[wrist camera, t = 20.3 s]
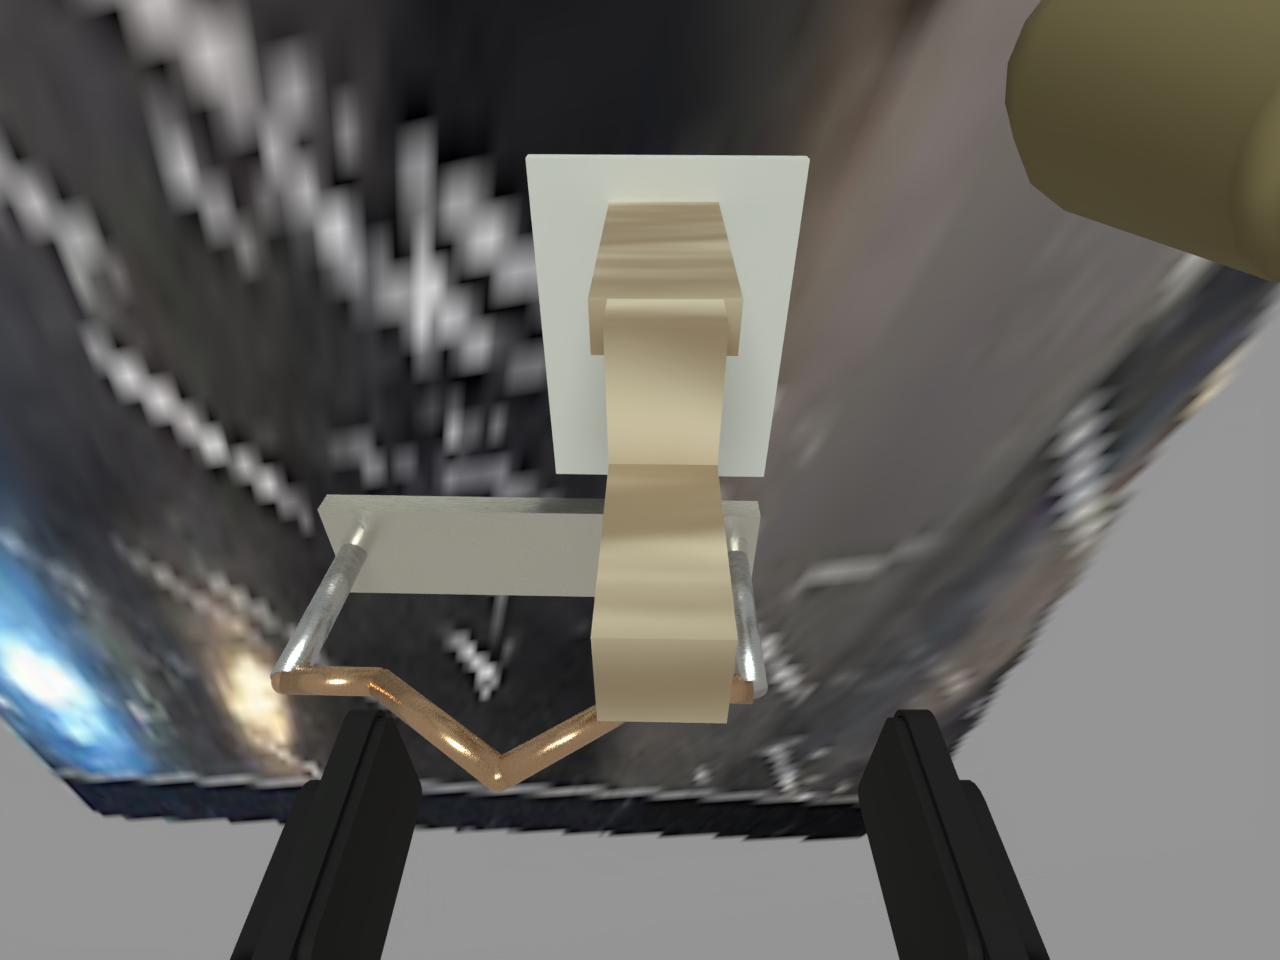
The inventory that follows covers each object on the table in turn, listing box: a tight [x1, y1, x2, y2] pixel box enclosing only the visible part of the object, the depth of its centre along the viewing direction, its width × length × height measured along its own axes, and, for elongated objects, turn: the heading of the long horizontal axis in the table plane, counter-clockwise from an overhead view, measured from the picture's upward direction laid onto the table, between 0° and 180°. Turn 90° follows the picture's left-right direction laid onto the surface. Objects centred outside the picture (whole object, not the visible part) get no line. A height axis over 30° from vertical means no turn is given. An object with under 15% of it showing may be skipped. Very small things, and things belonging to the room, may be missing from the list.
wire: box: [270, 495, 768, 792], centre depth 30 cm, size 6×22×14 cm, turn 90°
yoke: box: [588, 202, 743, 723], centre depth 21 cm, size 11×4×17 cm, turn 0°
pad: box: [525, 154, 810, 477], centre depth 28 cm, size 14×10×1 cm
